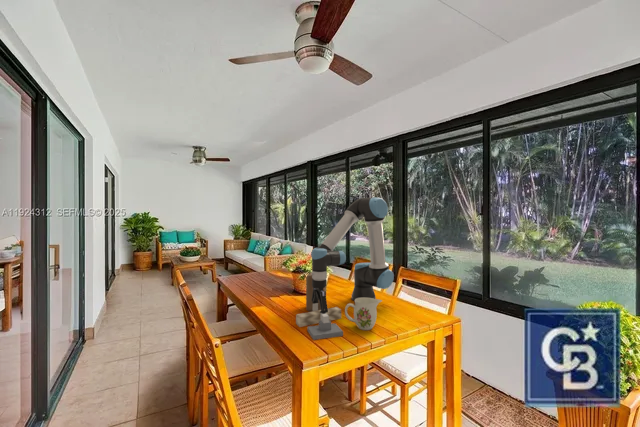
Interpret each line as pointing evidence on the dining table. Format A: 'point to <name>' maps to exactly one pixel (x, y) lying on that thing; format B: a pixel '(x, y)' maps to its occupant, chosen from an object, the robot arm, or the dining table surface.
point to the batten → (316, 316)
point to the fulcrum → (324, 329)
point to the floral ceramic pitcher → (364, 312)
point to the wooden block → (310, 293)
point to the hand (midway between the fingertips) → (319, 320)
